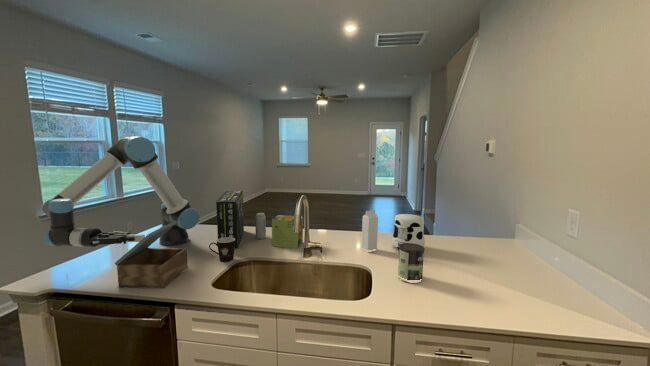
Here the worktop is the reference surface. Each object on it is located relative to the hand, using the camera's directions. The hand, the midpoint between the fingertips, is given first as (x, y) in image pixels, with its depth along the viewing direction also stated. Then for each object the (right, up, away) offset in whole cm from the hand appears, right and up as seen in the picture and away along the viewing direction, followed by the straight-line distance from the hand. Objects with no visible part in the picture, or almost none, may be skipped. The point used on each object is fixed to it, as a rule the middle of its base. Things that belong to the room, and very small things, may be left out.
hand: (143, 238), depth 124 cm
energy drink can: (+36, -11, +58) cm, 69 cm away
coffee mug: (+25, -15, +23) cm, 37 cm away
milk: (+99, -14, +39) cm, 107 cm away
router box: (+20, -11, +54) cm, 59 cm away
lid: (+2, -2, +1) cm, 3 cm away
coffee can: (+112, -18, +5) cm, 113 cm away
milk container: (+121, -14, +42) cm, 129 cm away
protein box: (+54, -12, +47) cm, 73 cm away
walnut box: (+3, -17, +3) cm, 17 cm away
